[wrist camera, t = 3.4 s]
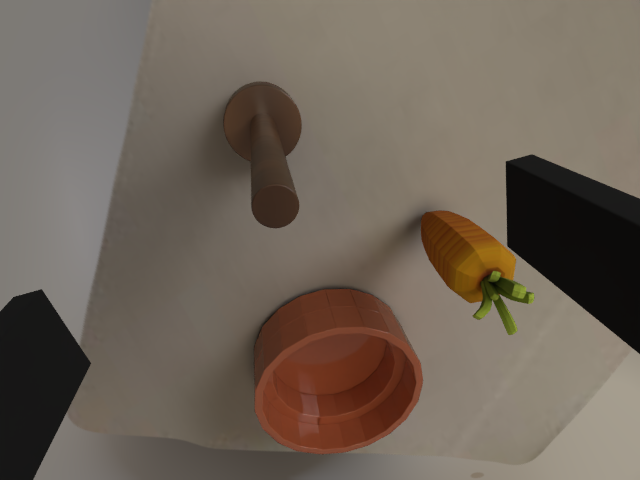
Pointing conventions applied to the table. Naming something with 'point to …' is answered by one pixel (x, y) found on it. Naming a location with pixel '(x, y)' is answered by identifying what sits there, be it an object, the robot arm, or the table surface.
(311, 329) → the bowl
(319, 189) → the table surface
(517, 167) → the robot arm
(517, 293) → the carrot
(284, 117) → the dark brown rod
